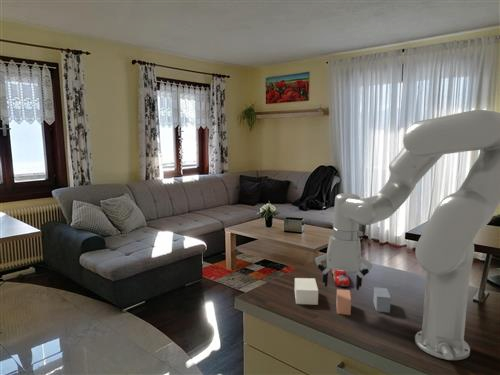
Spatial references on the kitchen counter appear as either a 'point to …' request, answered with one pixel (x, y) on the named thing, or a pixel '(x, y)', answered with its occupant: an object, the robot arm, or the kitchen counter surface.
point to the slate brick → (382, 300)
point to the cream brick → (306, 291)
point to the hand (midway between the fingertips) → (341, 286)
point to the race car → (340, 278)
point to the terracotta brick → (343, 302)
